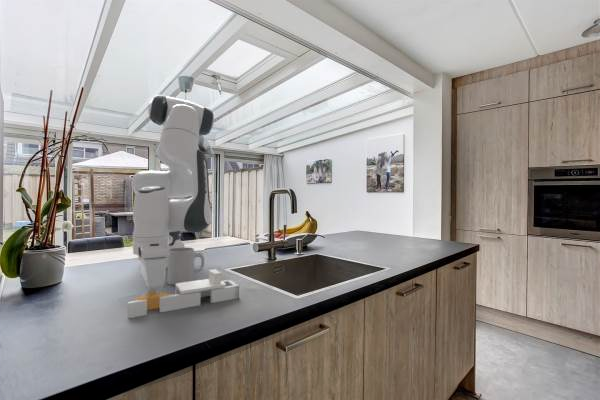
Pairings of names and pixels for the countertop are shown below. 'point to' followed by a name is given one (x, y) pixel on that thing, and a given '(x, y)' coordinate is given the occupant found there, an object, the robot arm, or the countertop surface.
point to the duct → (185, 299)
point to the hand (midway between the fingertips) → (151, 296)
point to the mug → (182, 265)
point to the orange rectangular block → (152, 300)
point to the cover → (202, 283)
